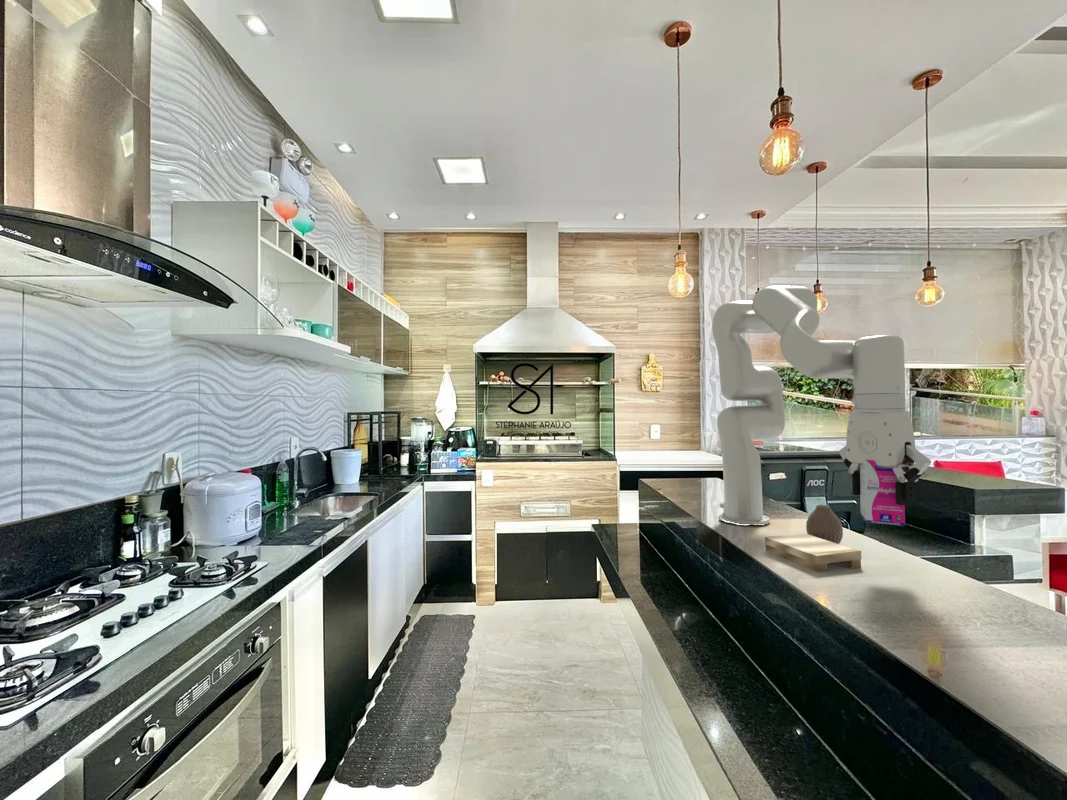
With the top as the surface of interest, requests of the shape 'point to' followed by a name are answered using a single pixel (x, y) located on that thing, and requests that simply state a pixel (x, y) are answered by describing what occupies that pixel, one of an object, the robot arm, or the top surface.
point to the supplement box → (879, 495)
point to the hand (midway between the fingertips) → (881, 498)
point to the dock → (812, 551)
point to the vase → (824, 524)
